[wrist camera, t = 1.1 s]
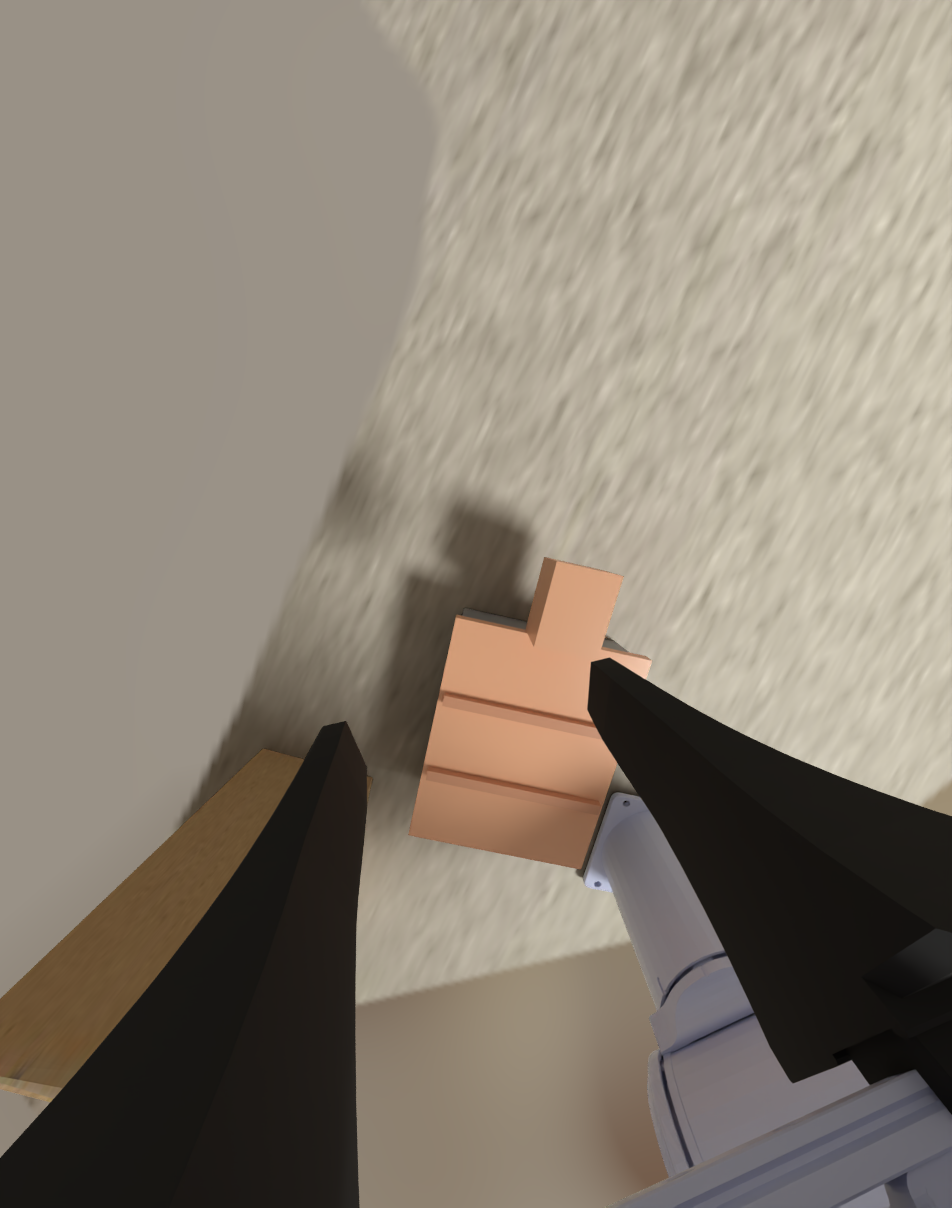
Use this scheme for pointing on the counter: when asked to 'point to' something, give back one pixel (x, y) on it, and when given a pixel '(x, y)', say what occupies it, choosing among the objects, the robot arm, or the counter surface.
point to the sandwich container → (132, 934)
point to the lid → (524, 726)
